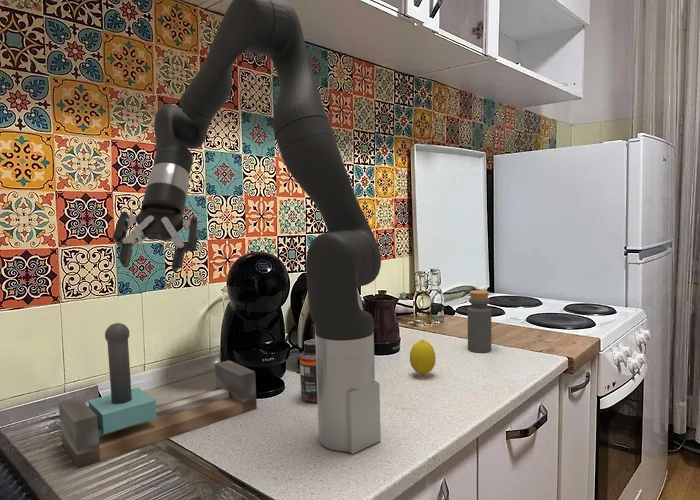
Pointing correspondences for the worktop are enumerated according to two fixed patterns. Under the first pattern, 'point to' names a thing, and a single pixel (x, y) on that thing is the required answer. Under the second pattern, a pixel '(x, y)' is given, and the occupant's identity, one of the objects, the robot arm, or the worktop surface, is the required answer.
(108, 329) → the carriage
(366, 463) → the worktop surface
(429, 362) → the lemon
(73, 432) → the rail
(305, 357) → the supplement bottle
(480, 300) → the bottle
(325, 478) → the worktop surface
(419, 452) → the worktop surface
